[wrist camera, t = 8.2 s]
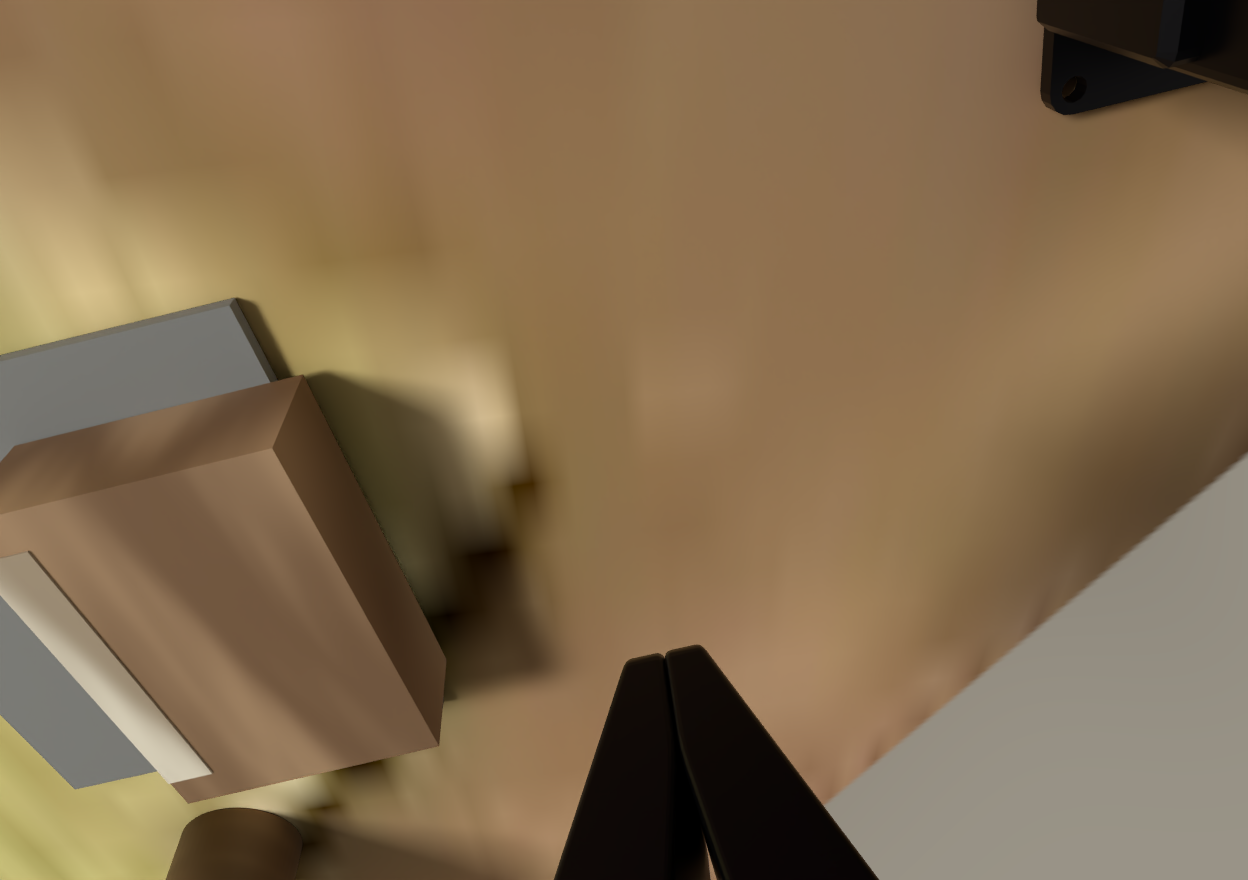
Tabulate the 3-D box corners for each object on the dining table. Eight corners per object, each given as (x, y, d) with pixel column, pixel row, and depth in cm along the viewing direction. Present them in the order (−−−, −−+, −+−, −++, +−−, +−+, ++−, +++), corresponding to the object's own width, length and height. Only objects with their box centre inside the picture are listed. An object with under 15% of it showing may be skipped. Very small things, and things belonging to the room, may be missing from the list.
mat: (234, 297, 19) (229, 305, 19) (443, 697, 27) (442, 708, 27) (-271, 421, 20) (-285, 431, 19) (80, 778, 27) (75, 789, 27)
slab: (271, 449, 17) (-58, 530, 17) (438, 748, 23) (187, 805, 23) (302, 373, 20) (15, 444, 20) (446, 658, 25) (220, 711, 26)
